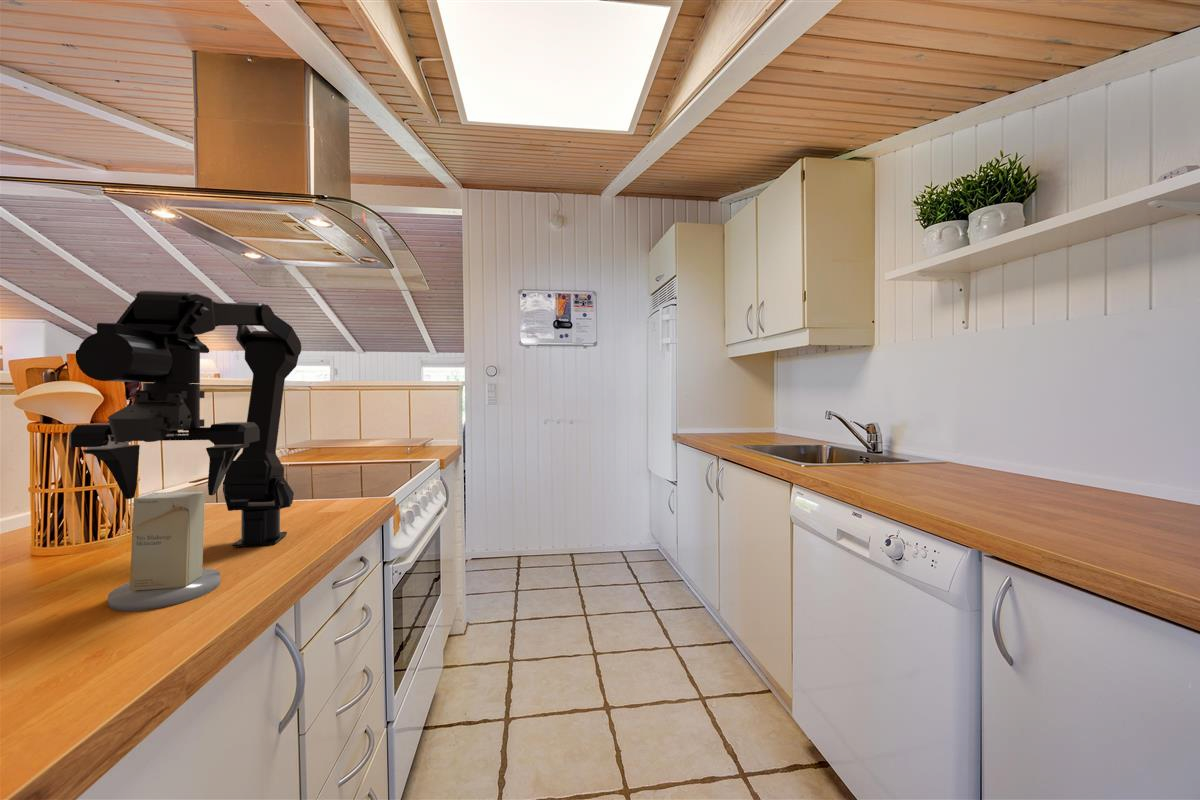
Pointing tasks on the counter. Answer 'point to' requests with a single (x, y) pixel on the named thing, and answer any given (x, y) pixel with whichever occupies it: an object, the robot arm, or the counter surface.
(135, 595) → the coaster
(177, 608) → the counter surface
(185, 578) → the skincare box
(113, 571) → the counter surface
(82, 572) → the counter surface
